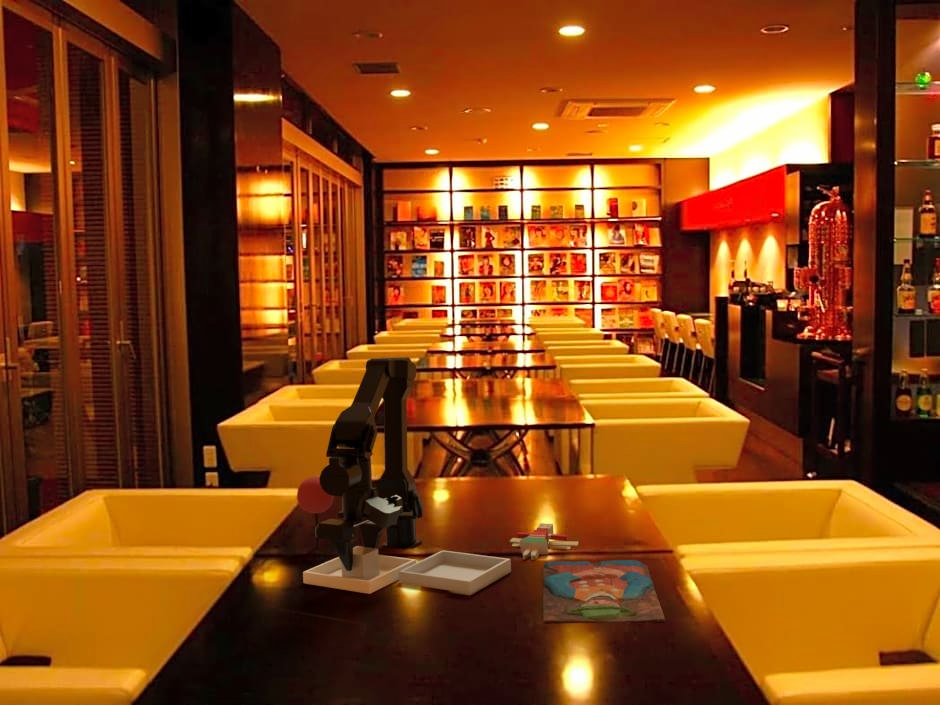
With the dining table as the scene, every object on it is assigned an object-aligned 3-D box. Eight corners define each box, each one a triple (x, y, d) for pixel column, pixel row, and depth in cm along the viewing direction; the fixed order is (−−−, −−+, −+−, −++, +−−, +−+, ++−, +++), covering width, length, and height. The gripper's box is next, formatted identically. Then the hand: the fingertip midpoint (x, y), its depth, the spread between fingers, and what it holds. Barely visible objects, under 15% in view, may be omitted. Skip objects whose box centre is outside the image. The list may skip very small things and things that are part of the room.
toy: (492, 547, 202) (513, 519, 216) (493, 565, 203) (514, 536, 217) (563, 552, 198) (580, 522, 211) (564, 570, 198) (581, 540, 212)
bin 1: (353, 563, 203) (352, 551, 202) (416, 572, 195) (416, 559, 195) (303, 585, 190) (302, 571, 189) (369, 595, 182) (369, 582, 182)
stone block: (358, 571, 196) (357, 545, 195) (379, 574, 193) (378, 548, 193) (342, 578, 191) (340, 552, 191) (363, 582, 189) (362, 555, 188)
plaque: (647, 559, 193) (665, 613, 163) (647, 570, 193) (665, 626, 163) (543, 561, 194) (542, 614, 165) (543, 571, 195) (543, 627, 165)
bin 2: (442, 562, 201) (442, 550, 200) (510, 571, 193) (510, 559, 193) (399, 584, 188) (398, 571, 187) (470, 595, 180) (469, 581, 180)
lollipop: (329, 552, 211) (325, 480, 210) (294, 551, 213) (290, 480, 212) (341, 542, 219) (338, 473, 218) (307, 541, 220) (304, 473, 219)
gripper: (361, 498, 179) (365, 585, 180) (419, 477, 195) (423, 557, 196) (311, 493, 184) (315, 577, 186) (372, 473, 200) (376, 551, 202)
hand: (360, 565), depth 192 cm, fingers open, 7 cm apart
